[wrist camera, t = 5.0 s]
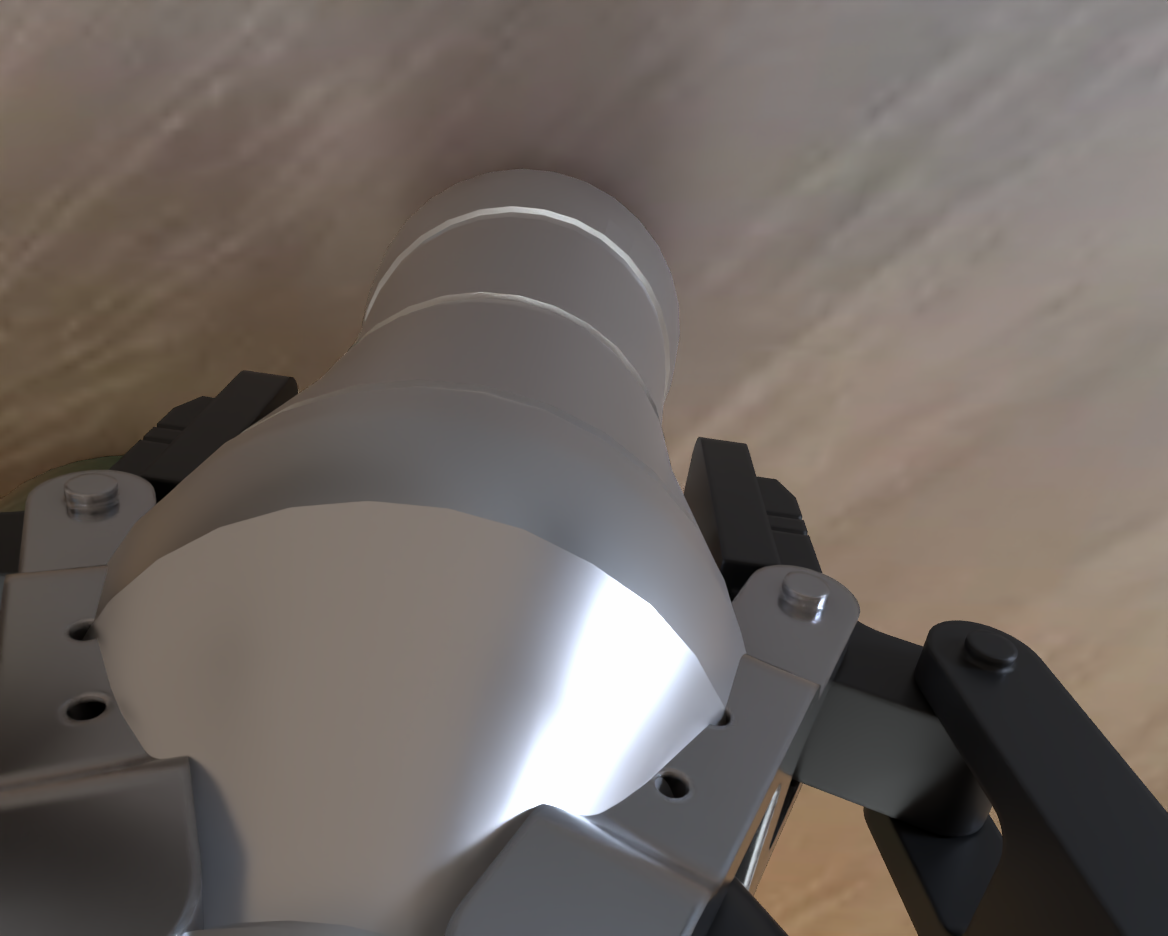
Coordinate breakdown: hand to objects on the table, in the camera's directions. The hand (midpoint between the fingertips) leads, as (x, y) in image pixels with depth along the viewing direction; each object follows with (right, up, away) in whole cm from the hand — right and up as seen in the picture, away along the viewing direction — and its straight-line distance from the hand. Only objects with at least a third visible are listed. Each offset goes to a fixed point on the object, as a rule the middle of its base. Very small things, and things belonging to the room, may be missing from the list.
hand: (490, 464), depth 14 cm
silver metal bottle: (0, +4, +8) cm, 9 cm away
